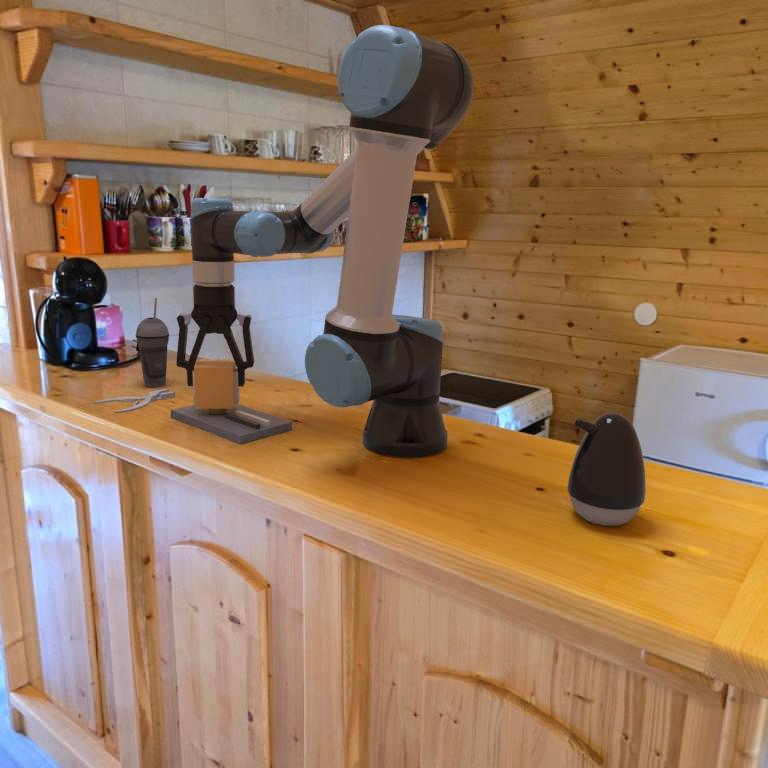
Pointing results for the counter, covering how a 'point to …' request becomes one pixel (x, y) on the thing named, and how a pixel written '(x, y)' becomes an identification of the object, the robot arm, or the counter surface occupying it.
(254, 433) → the plate
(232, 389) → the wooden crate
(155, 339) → the beverage cup
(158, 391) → the pliers
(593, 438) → the pump dispenser
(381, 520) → the counter surface
